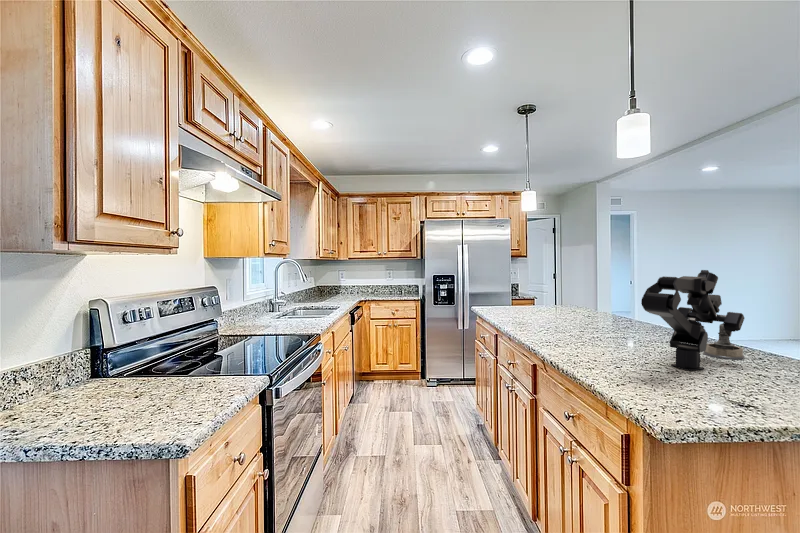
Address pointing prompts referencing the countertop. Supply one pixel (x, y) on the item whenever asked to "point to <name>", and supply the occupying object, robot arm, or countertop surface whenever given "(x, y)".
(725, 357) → the ring holder
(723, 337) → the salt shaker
